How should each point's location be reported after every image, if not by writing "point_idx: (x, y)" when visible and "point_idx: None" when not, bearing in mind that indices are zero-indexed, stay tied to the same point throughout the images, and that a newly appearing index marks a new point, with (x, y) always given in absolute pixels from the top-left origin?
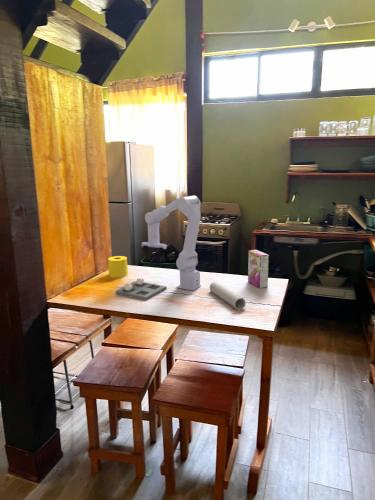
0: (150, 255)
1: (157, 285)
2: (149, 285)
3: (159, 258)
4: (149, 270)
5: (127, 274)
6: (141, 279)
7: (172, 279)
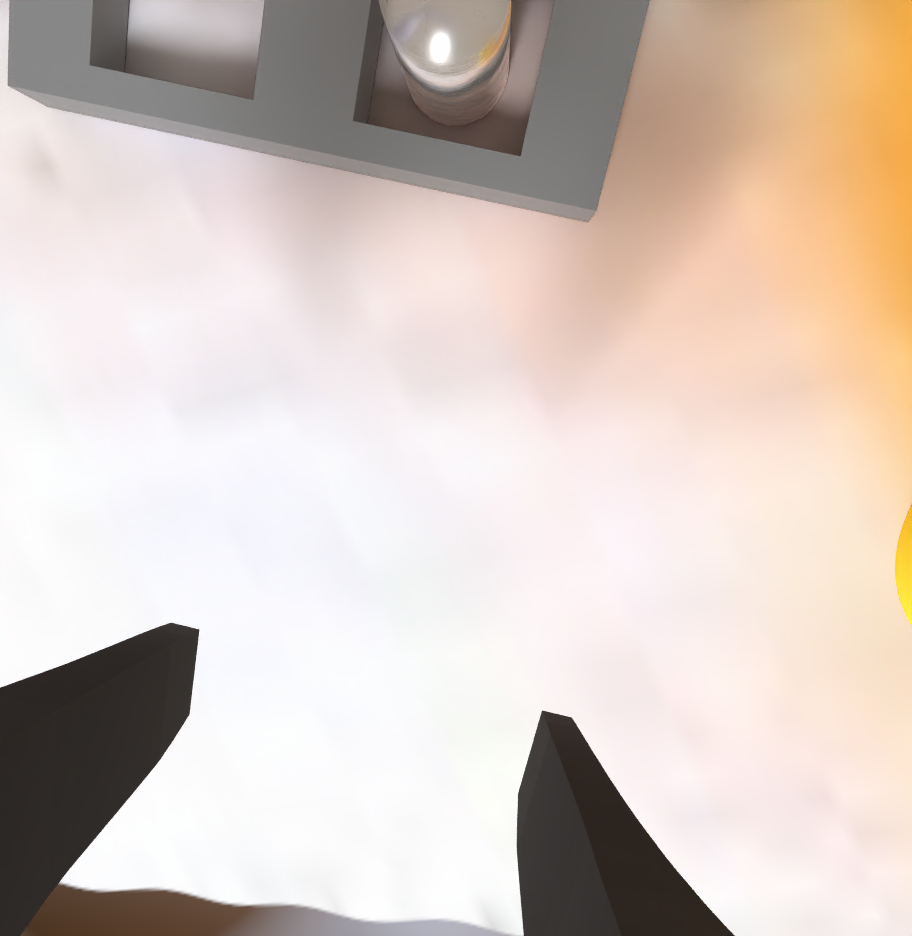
0: (524, 914)
1: (157, 83)
2: (280, 39)
3: (96, 661)
4: None
5: (902, 582)
6: (424, 9)
7: (172, 543)
